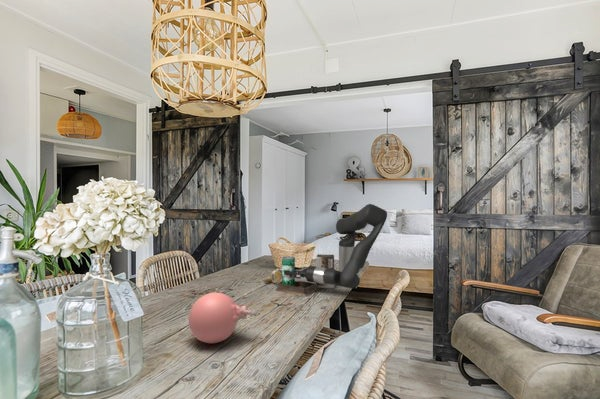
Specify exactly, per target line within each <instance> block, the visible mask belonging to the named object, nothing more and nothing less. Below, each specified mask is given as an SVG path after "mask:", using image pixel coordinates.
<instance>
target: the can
mask: <svg viewBox="0 0 600 399" xmlns="http://www.w3.org/2000/svg"><path fill="white" fill-rule="evenodd" d="M295 265H296V257H295V256H282V257H281V268H282V284H287V285H291V286H294V287H295V281H296V278H290V277H289V275H284V270H288V271H295V267H296V266H295Z"/></svg>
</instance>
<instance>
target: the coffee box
mask: <svg viewBox="0 0 600 399" xmlns="http://www.w3.org/2000/svg"><path fill="white" fill-rule="evenodd" d="M316 267H323V268H327V269H334V270H335V255H334V254H316ZM322 288H323V289H334V288H335V285H331V284H324V283H316V289H322Z"/></svg>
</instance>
